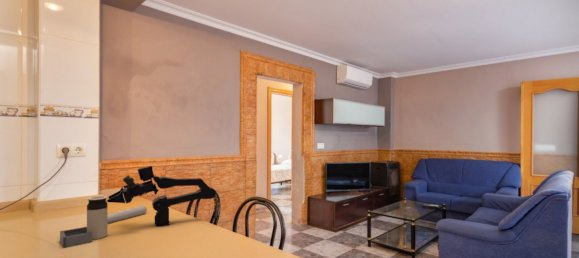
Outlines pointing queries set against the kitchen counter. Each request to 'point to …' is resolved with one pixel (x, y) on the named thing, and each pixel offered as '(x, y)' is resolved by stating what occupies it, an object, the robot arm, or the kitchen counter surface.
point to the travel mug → (97, 217)
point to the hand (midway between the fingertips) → (107, 199)
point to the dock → (75, 237)
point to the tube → (126, 214)
